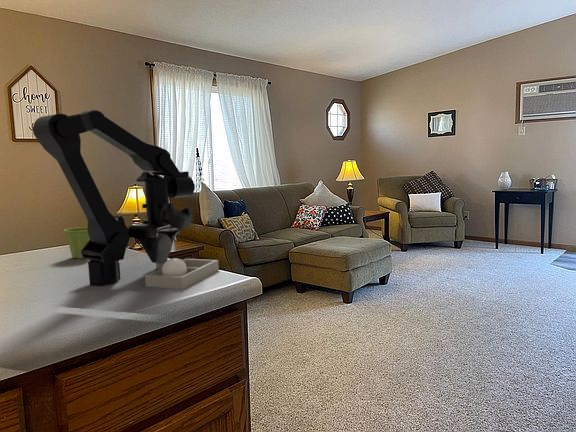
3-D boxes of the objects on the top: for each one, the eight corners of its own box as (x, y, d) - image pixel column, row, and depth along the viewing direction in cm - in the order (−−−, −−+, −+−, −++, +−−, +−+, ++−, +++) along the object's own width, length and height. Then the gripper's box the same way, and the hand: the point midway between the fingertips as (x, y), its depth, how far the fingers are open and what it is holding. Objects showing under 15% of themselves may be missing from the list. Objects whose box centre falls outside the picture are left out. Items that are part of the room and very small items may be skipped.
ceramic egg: (179, 285, 95) (178, 261, 94) (157, 284, 97) (156, 260, 96) (191, 279, 100) (190, 256, 99) (171, 278, 102) (169, 255, 101)
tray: (183, 293, 93) (182, 277, 92) (145, 290, 95) (144, 275, 95) (218, 273, 109) (218, 260, 109) (186, 271, 112) (185, 258, 112)
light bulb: (176, 268, 115) (174, 231, 114) (168, 274, 109) (166, 235, 108) (154, 268, 116) (152, 231, 115) (145, 274, 110) (143, 235, 109)
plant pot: (66, 255, 136) (64, 228, 135) (99, 252, 140) (97, 225, 139) (65, 261, 128) (63, 232, 127) (100, 257, 132) (98, 229, 131)
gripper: (165, 202, 99) (168, 270, 101) (203, 196, 117) (206, 254, 119) (123, 202, 102) (127, 267, 104) (166, 196, 120) (169, 252, 122)
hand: (160, 260), depth 112 cm, fingers closed on light bulb, 5 cm apart
